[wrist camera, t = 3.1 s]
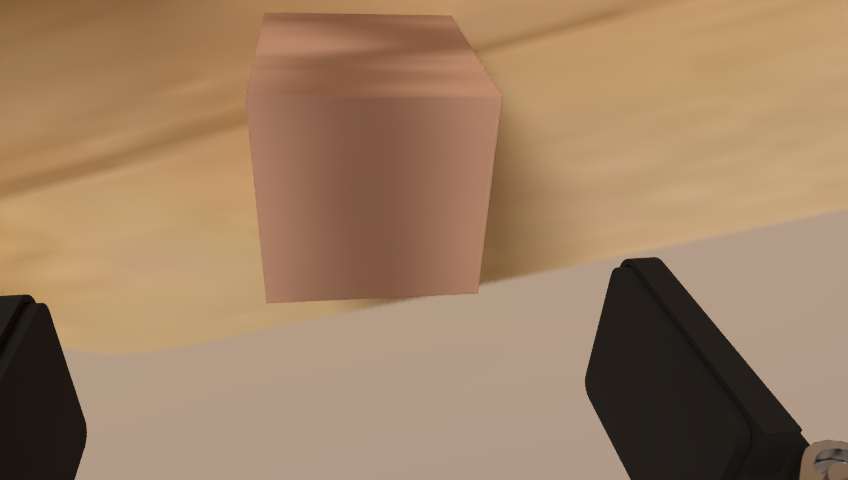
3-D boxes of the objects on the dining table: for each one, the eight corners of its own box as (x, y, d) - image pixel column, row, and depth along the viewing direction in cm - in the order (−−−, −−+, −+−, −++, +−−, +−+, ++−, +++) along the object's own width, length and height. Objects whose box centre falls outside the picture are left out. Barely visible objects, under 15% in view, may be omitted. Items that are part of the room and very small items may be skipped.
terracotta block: (450, 15, 18) (501, 96, 13) (438, 176, 21) (477, 293, 16) (264, 12, 17) (245, 97, 12) (277, 179, 20) (266, 303, 15)
